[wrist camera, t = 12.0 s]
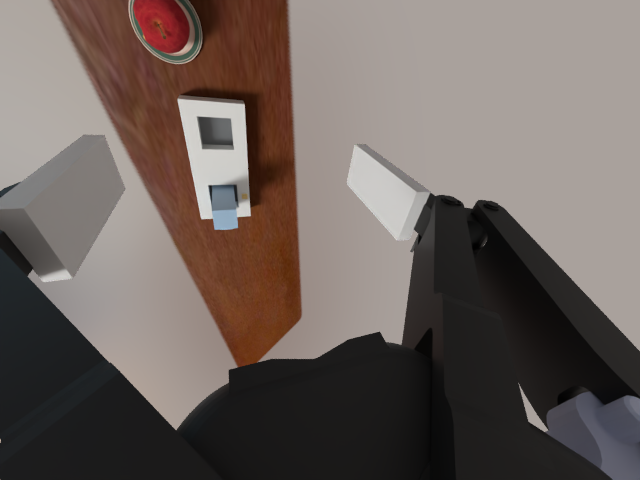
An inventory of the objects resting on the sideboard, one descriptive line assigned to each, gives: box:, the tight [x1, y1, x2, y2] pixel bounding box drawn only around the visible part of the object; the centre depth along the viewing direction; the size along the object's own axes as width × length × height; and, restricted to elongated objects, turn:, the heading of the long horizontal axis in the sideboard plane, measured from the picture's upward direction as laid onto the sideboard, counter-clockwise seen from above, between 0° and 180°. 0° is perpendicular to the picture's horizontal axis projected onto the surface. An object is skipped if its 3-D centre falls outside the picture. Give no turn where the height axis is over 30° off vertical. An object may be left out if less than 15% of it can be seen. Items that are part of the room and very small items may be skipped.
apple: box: [129, 0, 202, 64], centre depth 29 cm, size 8×8×6 cm
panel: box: [178, 95, 251, 219], centre depth 42 cm, size 20×9×3 cm, turn 173°
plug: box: [212, 185, 238, 230], centre depth 43 cm, size 4×4×10 cm
